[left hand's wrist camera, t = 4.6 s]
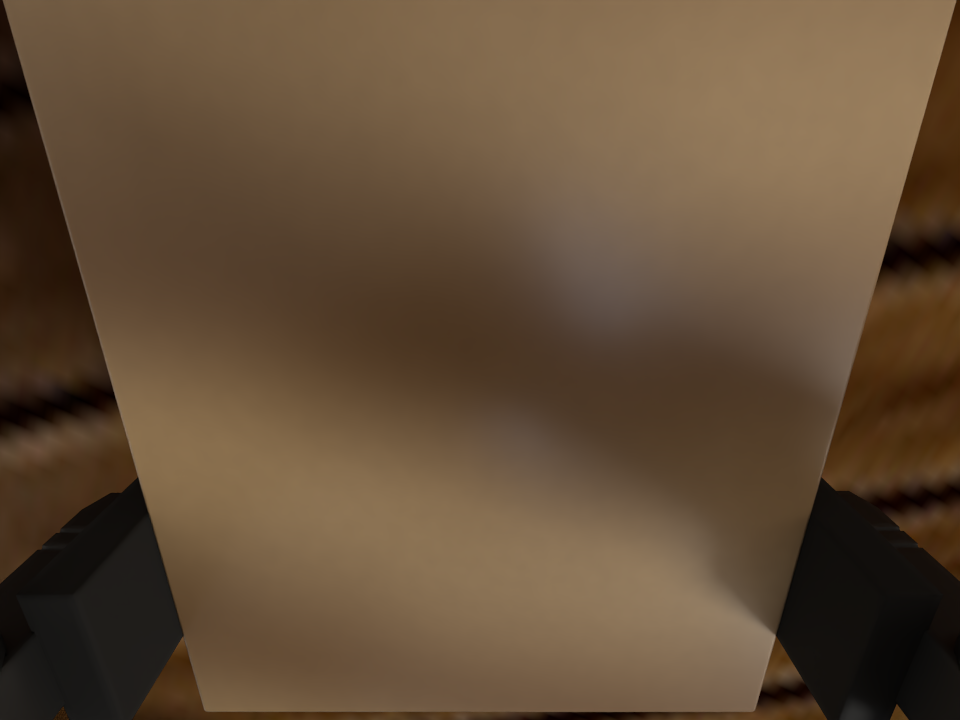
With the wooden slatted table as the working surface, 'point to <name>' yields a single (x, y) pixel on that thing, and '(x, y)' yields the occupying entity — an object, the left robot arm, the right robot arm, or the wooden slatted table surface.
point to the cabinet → (479, 324)
